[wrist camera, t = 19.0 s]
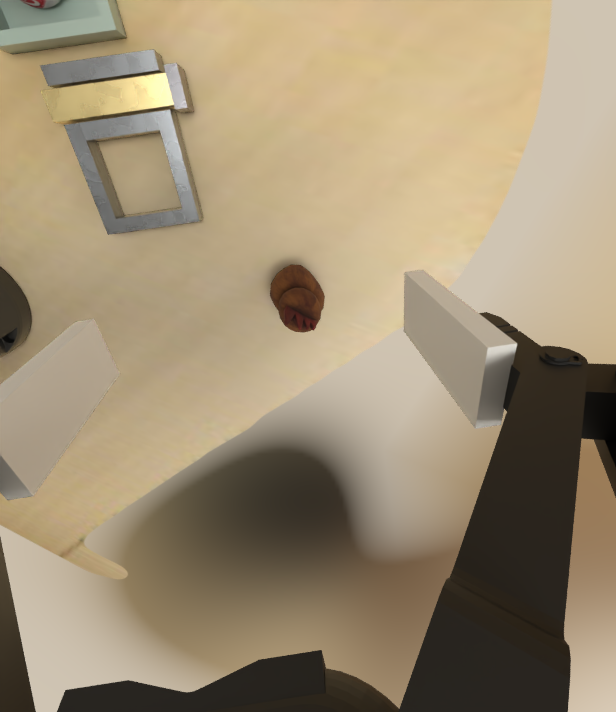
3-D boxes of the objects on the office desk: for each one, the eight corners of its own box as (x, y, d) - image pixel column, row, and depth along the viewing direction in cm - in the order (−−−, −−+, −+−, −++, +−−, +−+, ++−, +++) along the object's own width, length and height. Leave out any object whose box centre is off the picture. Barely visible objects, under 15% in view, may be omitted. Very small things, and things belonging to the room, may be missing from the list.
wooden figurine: (262, 277, 46) (257, 325, 33) (296, 249, 45) (304, 288, 32) (294, 314, 49) (301, 371, 36) (327, 289, 48) (346, 339, 35)
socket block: (116, 230, 42) (108, 234, 40) (55, 71, 34) (40, 65, 32) (203, 217, 42) (199, 221, 40) (161, 56, 34) (153, 49, 32)
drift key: (68, 129, 37) (51, 127, 34) (52, 89, 35) (33, 83, 32) (194, 111, 37) (187, 107, 34) (184, 70, 35) (176, 62, 32)
